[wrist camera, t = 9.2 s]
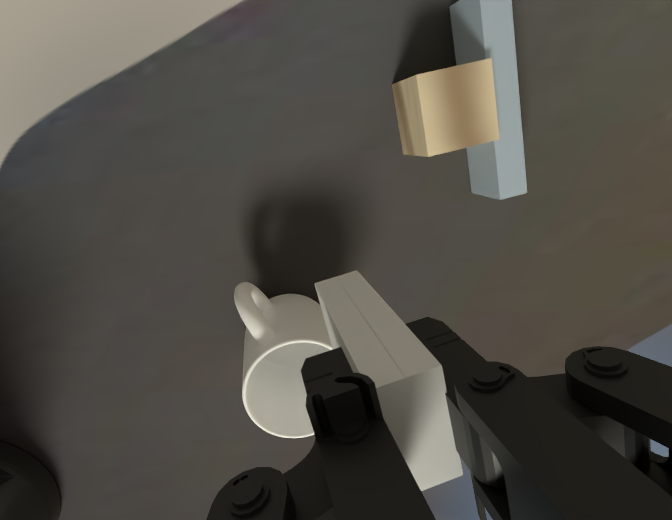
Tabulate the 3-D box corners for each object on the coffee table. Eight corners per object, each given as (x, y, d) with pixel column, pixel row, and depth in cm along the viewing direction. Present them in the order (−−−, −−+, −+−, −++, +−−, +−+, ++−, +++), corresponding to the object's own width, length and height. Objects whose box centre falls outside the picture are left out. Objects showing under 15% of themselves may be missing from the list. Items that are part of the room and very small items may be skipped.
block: (403, 154, 39) (428, 156, 33) (391, 84, 37) (416, 74, 32) (464, 139, 40) (499, 139, 34) (456, 70, 38) (491, 58, 32)
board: (471, 192, 41) (500, 199, 36) (449, 6, 36) (478, -13, 32) (495, 186, 41) (527, 192, 37) (476, 1, 37) (509, -20, 32)
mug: (202, 292, 39) (185, 343, 29) (279, 242, 39) (287, 276, 29) (276, 385, 43) (283, 457, 33) (346, 339, 43) (373, 398, 33)
